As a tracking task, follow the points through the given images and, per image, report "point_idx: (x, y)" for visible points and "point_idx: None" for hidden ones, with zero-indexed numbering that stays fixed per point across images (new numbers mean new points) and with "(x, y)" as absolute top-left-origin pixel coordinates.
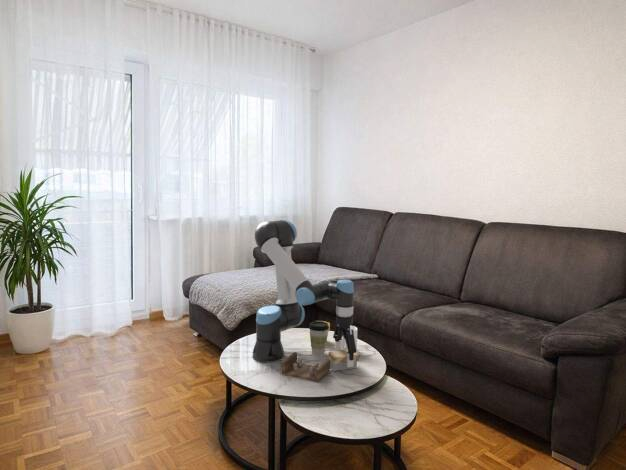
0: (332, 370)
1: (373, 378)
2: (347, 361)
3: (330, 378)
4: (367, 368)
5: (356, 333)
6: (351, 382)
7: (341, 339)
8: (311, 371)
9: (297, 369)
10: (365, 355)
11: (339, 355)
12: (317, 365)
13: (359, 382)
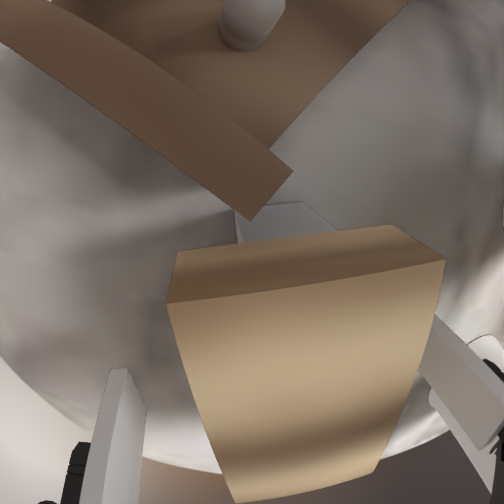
0: (234, 212)
1: None
2: (111, 413)
3: (79, 154)
4: None
5: (483, 480)
6: (22, 307)
7: (496, 454)
8: None
9: None
10: None
11: (257, 392)
12: (224, 13)
13: (32, 352)
